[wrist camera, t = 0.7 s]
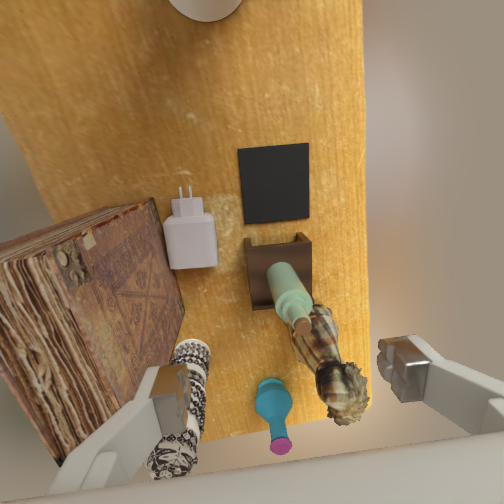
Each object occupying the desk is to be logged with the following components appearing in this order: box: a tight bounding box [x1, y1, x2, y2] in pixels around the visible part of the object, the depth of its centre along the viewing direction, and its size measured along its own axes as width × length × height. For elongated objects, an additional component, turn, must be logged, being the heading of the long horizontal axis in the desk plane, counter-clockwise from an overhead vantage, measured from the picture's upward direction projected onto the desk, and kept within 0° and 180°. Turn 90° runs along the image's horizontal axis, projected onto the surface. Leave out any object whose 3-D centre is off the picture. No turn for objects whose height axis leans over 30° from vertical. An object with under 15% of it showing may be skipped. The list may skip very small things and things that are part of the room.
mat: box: [238, 143, 310, 224], centre depth 50 cm, size 14×13×1 cm
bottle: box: [266, 262, 313, 336], centre depth 41 cm, size 6×6×16 cm
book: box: [0, 197, 185, 467], centre depth 39 cm, size 25×9×30 cm, turn 9°
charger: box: [163, 186, 219, 269], centre depth 49 cm, size 5×9×15 cm
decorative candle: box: [143, 339, 210, 480], centre depth 50 cm, size 9×9×25 cm
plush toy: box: [284, 304, 370, 426], centre depth 50 cm, size 14×14×25 cm
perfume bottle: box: [255, 379, 293, 455], centre depth 60 cm, size 9×9×15 cm
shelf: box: [244, 232, 314, 311], centre depth 51 cm, size 12×12×8 cm
